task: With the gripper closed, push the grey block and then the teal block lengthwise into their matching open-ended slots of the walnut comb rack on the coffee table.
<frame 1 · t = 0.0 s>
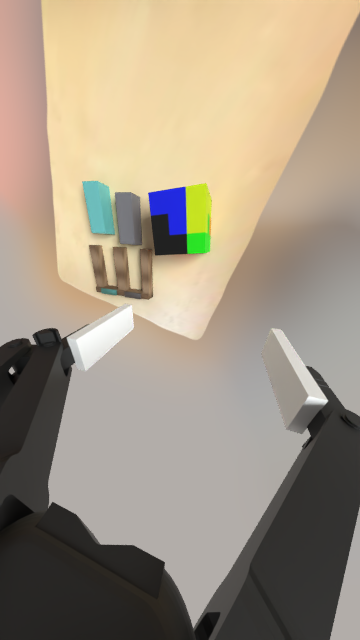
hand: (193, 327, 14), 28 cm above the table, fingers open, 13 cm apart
puzzle toy: (189, 229, 36), on the table
teal block: (106, 212, 39), on the table
grey block: (134, 222, 38), on the table
comb rack: (125, 271, 45), on the table
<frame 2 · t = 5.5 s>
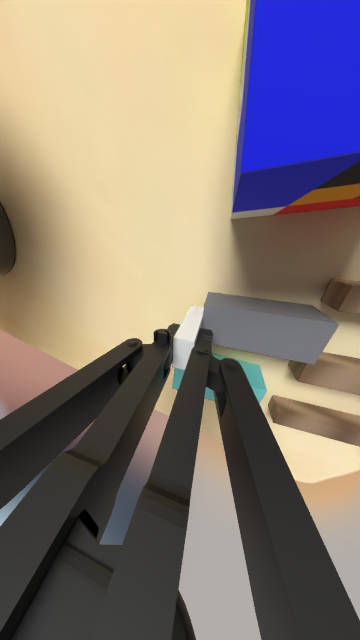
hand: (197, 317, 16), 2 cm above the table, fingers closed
puzzle toy: (315, 122, 10), on the table
teal block: (216, 365, 21), on the table
grey block: (251, 315, 16), on the table, touching gripper
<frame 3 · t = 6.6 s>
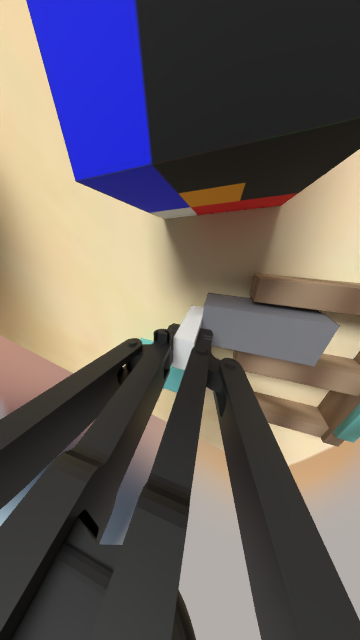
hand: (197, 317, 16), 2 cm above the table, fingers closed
puzzle toy: (220, 133, 11), on the table
teal block: (173, 356, 22), on the table
grey block: (251, 316, 16), on the table, touching gripper
comb rack: (294, 358, 17), on the table
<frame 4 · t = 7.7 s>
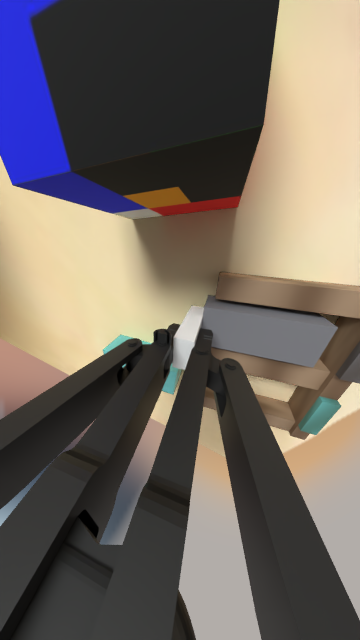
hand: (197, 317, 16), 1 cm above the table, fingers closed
puzzle toy: (178, 139, 12), on the table
teal block: (151, 353, 23), on the table
grey block: (251, 318, 17), on the table
comb rack: (262, 354, 18), on the table
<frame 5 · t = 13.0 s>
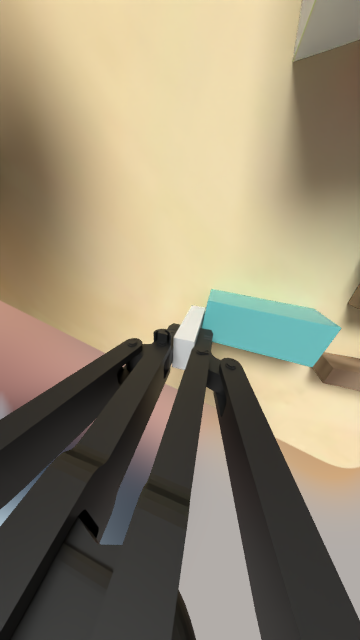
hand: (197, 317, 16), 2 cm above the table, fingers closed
teal block: (253, 315, 16), on the table, touching gripper
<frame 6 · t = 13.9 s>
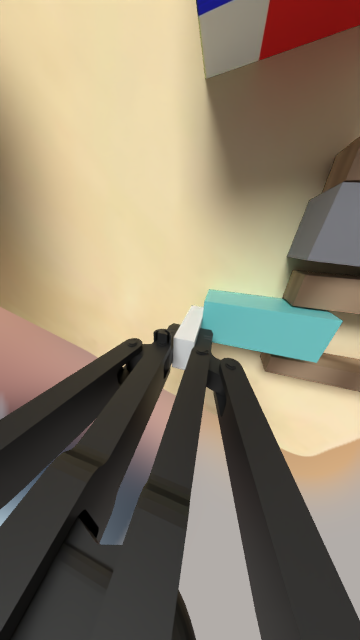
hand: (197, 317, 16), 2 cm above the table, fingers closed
teal block: (252, 313, 16), on the table, touching gripper
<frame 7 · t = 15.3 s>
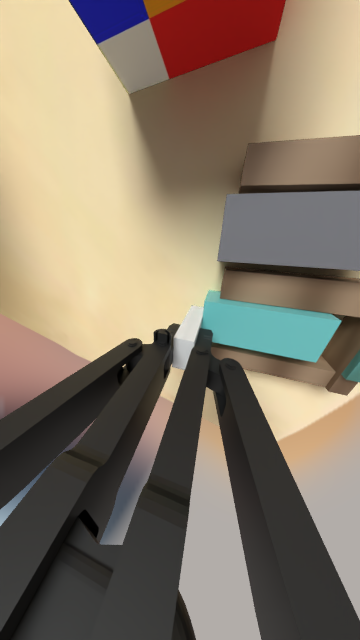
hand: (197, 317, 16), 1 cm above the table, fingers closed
teal block: (252, 313, 16), on the table, touching gripper
grey block: (282, 236, 13), on the table
comb rack: (293, 287, 14), on the table
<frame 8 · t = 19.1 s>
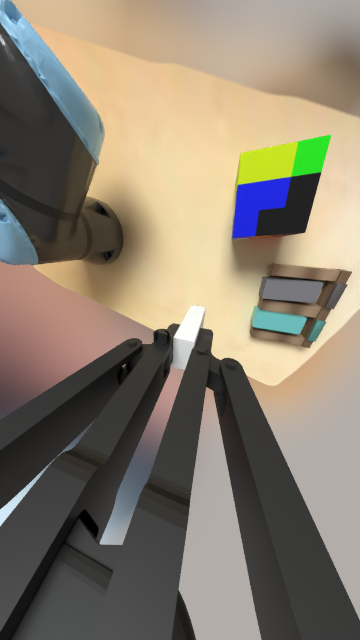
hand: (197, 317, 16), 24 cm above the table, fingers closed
puzzle toy: (259, 209, 30), on the table
teal block: (273, 316, 38), on the table
grey block: (284, 286, 35), on the table
comb rack: (288, 305, 36), on the table
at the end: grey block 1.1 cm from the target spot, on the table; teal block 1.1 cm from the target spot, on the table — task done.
